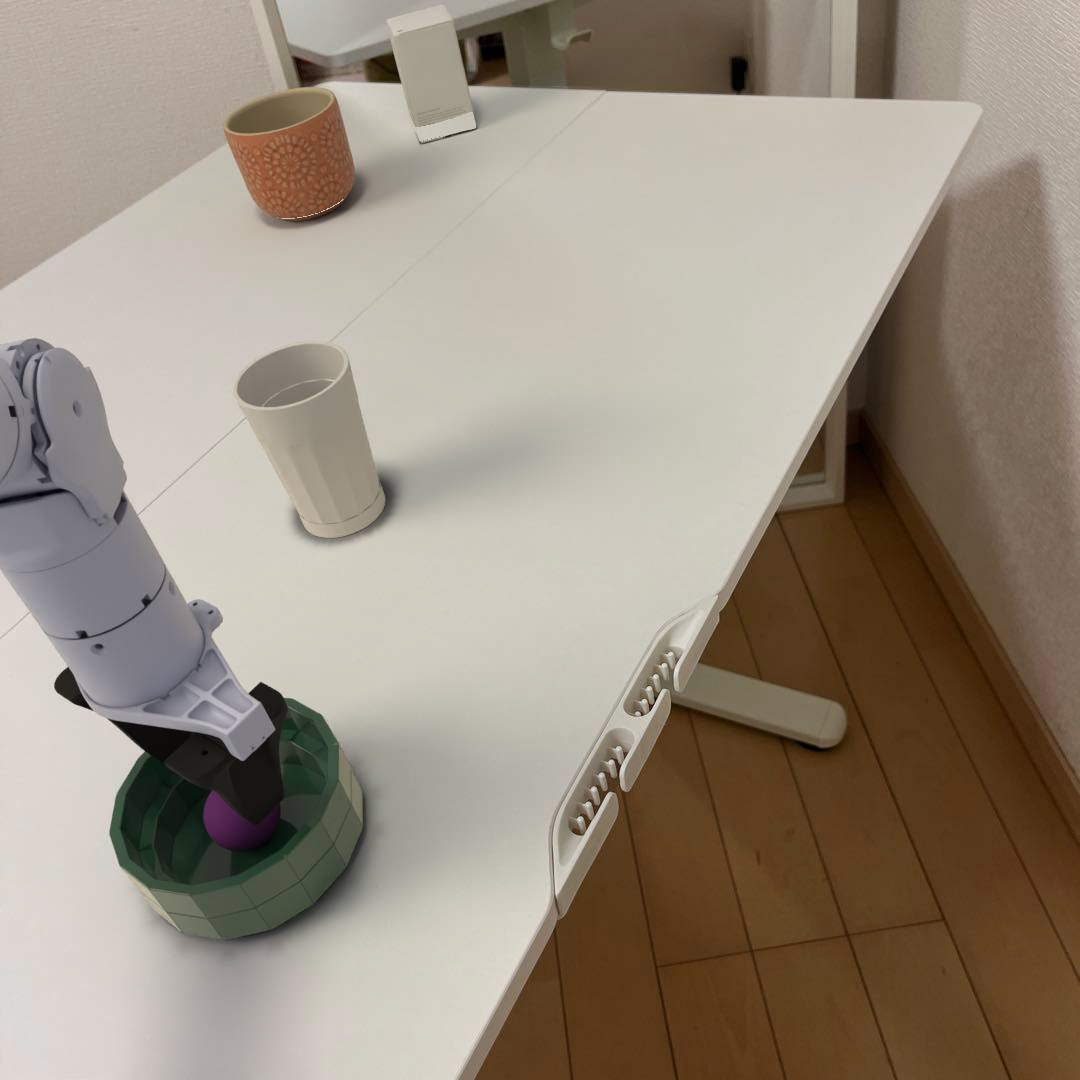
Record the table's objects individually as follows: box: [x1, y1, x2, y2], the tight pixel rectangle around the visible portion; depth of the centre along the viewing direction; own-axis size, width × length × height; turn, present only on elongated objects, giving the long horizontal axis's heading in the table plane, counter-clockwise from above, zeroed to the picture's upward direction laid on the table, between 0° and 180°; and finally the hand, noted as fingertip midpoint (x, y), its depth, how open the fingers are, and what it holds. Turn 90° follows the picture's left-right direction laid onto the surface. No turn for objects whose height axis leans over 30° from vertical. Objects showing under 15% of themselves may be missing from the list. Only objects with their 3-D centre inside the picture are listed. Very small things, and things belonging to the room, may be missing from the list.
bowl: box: [108, 697, 364, 941], centre depth 59 cm, size 12×12×5 cm
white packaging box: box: [385, 3, 474, 144], centre depth 130 cm, size 7×7×13 cm
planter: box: [222, 86, 356, 222], centre depth 120 cm, size 12×12×11 cm
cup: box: [232, 340, 386, 539], centre depth 78 cm, size 8×8×12 cm
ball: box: [204, 791, 281, 852], centre depth 59 cm, size 4×4×4 cm
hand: (218, 776), depth 57 cm, fingers open, 7 cm apart
